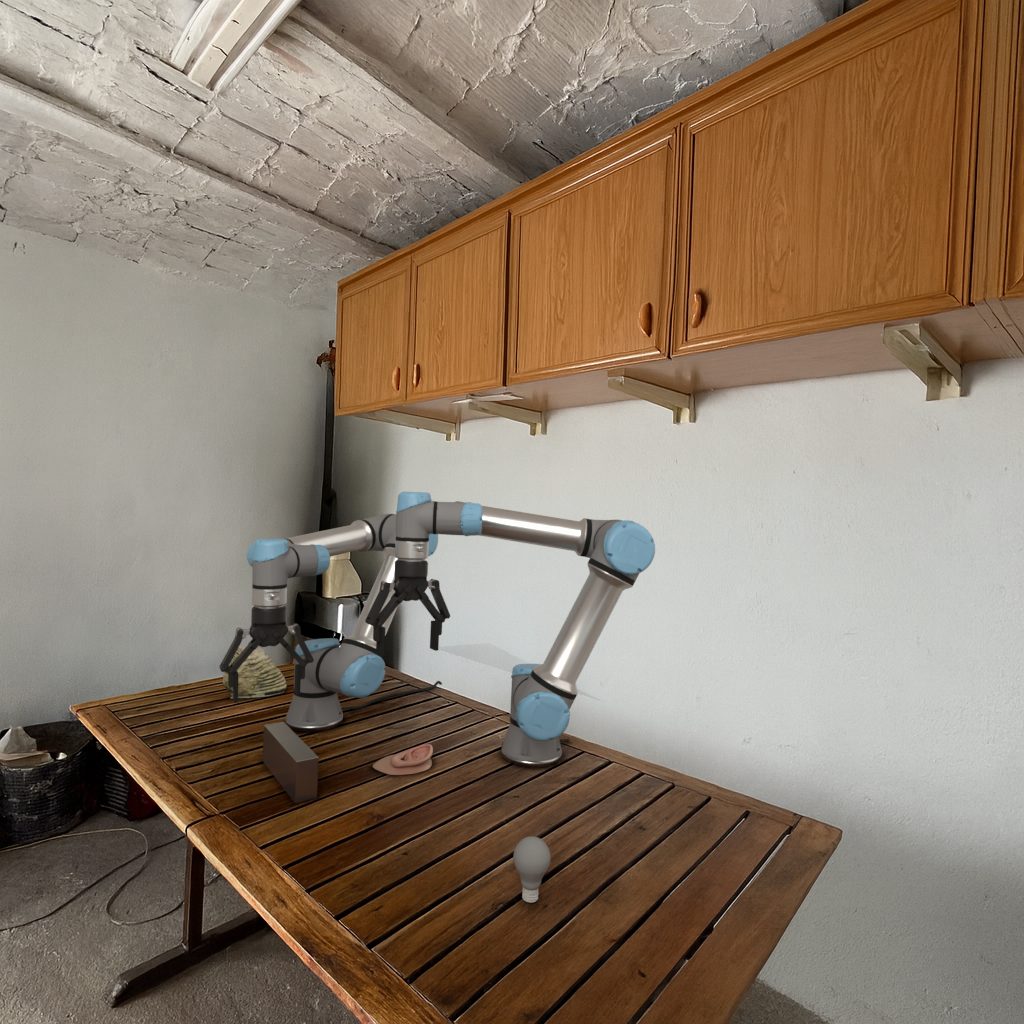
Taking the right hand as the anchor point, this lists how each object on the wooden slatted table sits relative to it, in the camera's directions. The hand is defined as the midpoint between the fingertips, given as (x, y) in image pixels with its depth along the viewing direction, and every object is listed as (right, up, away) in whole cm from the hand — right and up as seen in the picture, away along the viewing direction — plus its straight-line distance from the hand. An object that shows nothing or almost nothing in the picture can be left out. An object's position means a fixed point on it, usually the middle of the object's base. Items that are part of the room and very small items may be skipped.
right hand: (407, 652), depth 144 cm
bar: (-26, -28, -2) cm, 38 cm away
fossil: (-57, -25, +54) cm, 82 cm away
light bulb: (+27, -31, -42) cm, 59 cm away
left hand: (-33, -11, +3) cm, 35 cm away
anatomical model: (-2, -29, +6) cm, 29 cm away
